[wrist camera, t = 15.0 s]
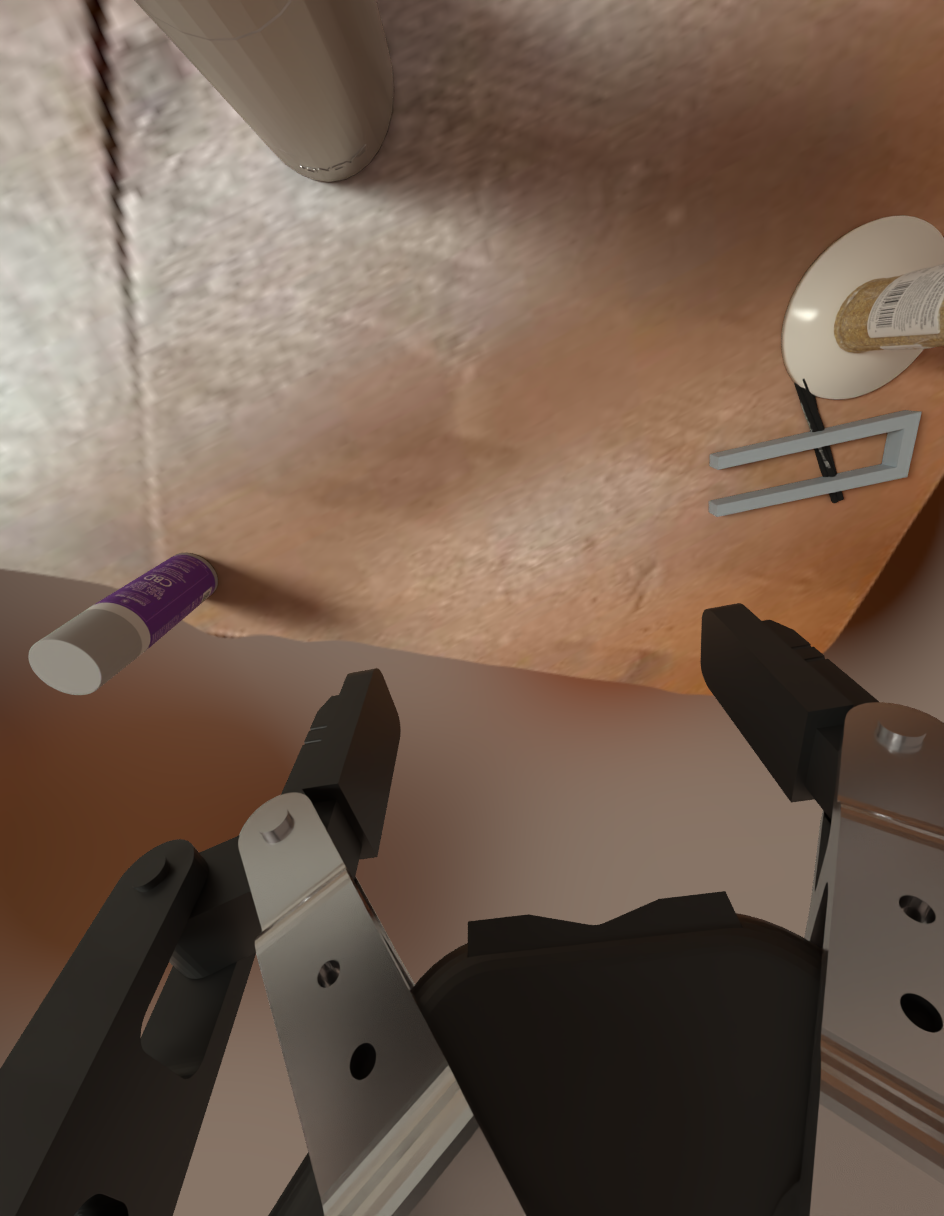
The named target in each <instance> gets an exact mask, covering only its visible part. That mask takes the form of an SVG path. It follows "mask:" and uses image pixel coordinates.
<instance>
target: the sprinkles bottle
mask: <svg viewBox="0 0 944 1216" xmlns="http://www.w3.org/2000/svg"><path fill="white" fill-rule="evenodd" d="M834 336H835V339H836V342H837V344H838V345H839V347H840V348H841V349H843V350H845V351H847V352H852V353H864V352H867V351H873V350H911V349H925V348H933V347H939V346H944V264H942V265H938V266H933V267H929V268H925V269H920V270H916V271H912V272H909V273H906V274H903V275H900V276H895V277H890V278H878V279H873V280H871V281H869V282H866V283H864V284H863V285H861V286H859V287H858V288H856V289H855V290H854V291H853V292H852V293H851V294H850V295H849V296H848V297H847V298H846V300H845V301H844V302H843V304H842V306H841V307H840V310H839V311H838V313H837V316H836V320H835V324H834Z"/></svg>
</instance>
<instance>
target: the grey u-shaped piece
mask: <svg viewBox="0 0 944 1216" xmlns="http://www.w3.org/2000/svg"><path fill="white" fill-rule="evenodd" d="M920 417H921V412H919V411H908V410H904V411H899V412H895V413H890V414H886V415H881V416H877V417H873V418H868V419H864V420H859V421H855V422H850V423H846V424H841V425H837V426H833V427H828V428H824V430H823V431H817V432H811V431H810V432H806V433H801V434H797V435H793V436H788V437H784V438H779V439H775V440H770V441H766V442H761V443H757V444H753V445H748V446H744V447H739V448H735V449H730V450H726V451H721V452H717V453H713V454H710V467H713V468H715V469H718V470H719V469H724V468H728V467H733V466H737V465H742V464H746V463H751V462H755V461H760V460H764V459H769V458H774V457H778V456H783V455H787V454H792V453H796V452H801V451H805V450H810V449H814V448H819V447H823V446H828V445H832V444H837V443H841V442H846V441H850V440H855V439H860V438H864V437H869V436H873V435H878V434H882V433H887V432H888V434H887V439H886V444H885V449H884V455H883V460H882V464H879V465H875V466H870V467H865V468H861V469H856V470H851V471H847V472H842V473H837V475H836V476H835V477H819V478H814V479H809V480H805V481H800V482H795V483H791V484H786V485H781V486H777V487H772V488H767V489H762V490H758V491H753V492H748V493H744V494H739V495H734V496H730V497H725V498H720V499H716V500H711V501H709V512H710V513H711V514H713V515H715V516H716V517H719V516H724V515H728V514H733V513H738V512H743V511H747V510H752V509H757V508H762V507H766V506H771V505H776V504H781V503H785V502H790V501H795V500H800V499H805V498H809V497H814V496H819V495H824V494H828V493H833V492H838V491H843V490H847V489H852V488H857V487H862V486H866V485H871V484H876V483H881V482H885V481H890V480H895V479H900V478H904V477H907V476H908V472H909V467H910V462H911V458H912V453H913V449H914V444H915V440H916V435H917V431H918V426H919V421H920Z"/></svg>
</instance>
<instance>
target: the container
mask: <svg viewBox="0 0 944 1216" xmlns="http://www.w3.org/2000/svg"><path fill="white" fill-rule="evenodd" d="M217 585H218V578H217V574H216V572H215V570H214V568H213V567H212V566H211V565H210V564H209V563H208V562H207V561H206V560H205V559H203V558H202V557H200V556H198V555H195V554H191V553H180V554H177V555H175V556H173V557H171V558H169V559H168V560H166V561H165V562H163V563H161V564H160V565H158V566H156V567H155V568H153V569H151V570H150V571H148V572H147V573H145V574H143V575H142V576H140V577H138V578H137V579H135V580H134V581H132V582H130V583H129V584H127V585H125V586H124V587H122V588H120V589H119V590H117V591H116V592H114V593H112V594H111V595H109V596H107V597H106V598H104V599H102V600H101V601H99V602H98V603H96V604H94V605H93V606H91V607H90V608H88V609H87V610H85V611H84V612H82V613H81V614H79V615H78V616H76V617H75V618H73V619H72V620H70V621H69V622H67V623H66V624H64V625H63V626H61V627H59V628H58V629H56V630H55V631H53V632H52V633H50V634H49V635H47V636H46V637H44V638H43V639H41V640H40V641H39V642H37V643H35V644H34V645H33V646H32V647H31V649H30V651H29V662H30V665H31V667H32V669H33V671H34V672H35V673H36V675H37V676H38V677H39V678H40V679H41V680H42V681H44V682H45V683H46V684H48V685H49V686H51V687H53V688H55V689H57V690H59V691H61V692H64V693H68V694H73V695H85V694H89V693H92V692H94V691H96V690H97V689H98V688H99V687H101V686H102V685H103V684H104V683H106V682H107V681H108V680H109V679H111V678H112V677H113V676H114V675H116V674H117V673H118V672H120V671H121V670H122V669H123V668H125V667H126V666H127V665H128V664H130V663H131V662H132V661H133V660H135V659H136V658H137V657H138V656H139V655H141V654H142V653H143V652H145V651H146V650H147V649H148V648H150V647H151V646H152V645H153V644H154V643H155V642H157V641H158V640H159V639H160V638H161V637H162V636H164V635H165V634H166V633H167V632H168V631H169V630H171V629H172V628H173V627H174V626H175V625H176V624H178V623H179V622H180V621H181V620H182V619H183V618H185V617H186V616H187V615H188V614H189V613H191V612H192V611H193V610H194V609H195V608H196V607H198V606H199V605H200V604H201V603H202V602H203V601H205V600H206V599H207V598H208V597H209V596H210V595H211V594H213V593H214V591H215V590H216V588H217Z"/></svg>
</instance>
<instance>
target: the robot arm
mask: <svg viewBox="0 0 944 1216" xmlns="http://www.w3.org/2000/svg"><path fill="white" fill-rule="evenodd" d="M135 1H136V3H137V4H138V5H139V6H140V7H141V8H142V9H143V10H144V11H145V12H146V14H147V15H148V16H149V17H150V18H151V19H152V20H153V21H154V22H155V23H156V24H157V26H158V27H159V28H160V29H161V30H162V31H163V32H164V33H165V34H166V35H167V36H168V38H169V39H170V40H171V41H172V42H173V43H174V44H175V45H176V46H177V47H178V48H179V50H180V51H181V52H182V53H183V54H184V55H185V56H186V57H187V58H188V59H189V60H190V62H191V63H192V64H193V65H194V66H195V67H196V68H197V69H198V70H199V71H200V73H201V74H202V75H203V76H204V77H205V78H206V79H207V80H208V81H209V82H210V83H211V85H212V86H213V87H214V88H215V89H216V90H217V91H218V92H219V93H220V94H221V95H222V97H223V98H224V99H225V100H226V101H227V102H228V103H229V104H230V105H231V106H232V107H233V109H234V110H235V111H236V112H237V113H238V114H239V115H240V116H241V117H242V118H243V119H244V121H245V122H246V123H247V124H248V125H249V126H250V127H251V129H252V130H253V131H254V132H255V133H256V134H257V135H258V136H259V137H260V138H261V139H262V140H263V142H264V143H265V144H266V145H267V146H268V147H269V148H270V149H271V150H272V151H273V152H274V153H275V154H276V155H277V156H278V157H279V158H280V159H281V160H282V161H283V162H284V163H285V164H286V165H287V166H289V167H290V168H291V169H293V170H294V171H296V172H297V173H299V174H301V175H303V176H306V177H308V178H311V179H313V180H318V181H327V182H332V181H338V180H344V179H346V178H348V177H351V176H353V175H355V174H357V173H358V172H360V171H361V170H362V169H363V168H364V167H365V166H366V165H368V164H369V163H370V162H371V160H372V159H373V157H374V156H375V155H376V153H377V152H378V150H379V149H380V147H381V145H382V142H383V140H384V138H385V136H386V133H387V131H388V127H389V123H390V119H391V114H392V108H393V95H394V83H393V70H392V63H391V58H390V54H389V49H388V45H387V41H386V37H385V33H384V29H383V26H382V22H381V18H380V14H379V10H378V6H377V2H376V0H135ZM701 670H702V674H703V677H704V680H705V682H706V684H707V686H708V688H709V689H710V691H711V692H712V693H713V695H714V696H715V697H716V699H717V700H718V702H719V703H720V704H721V705H722V707H723V709H724V710H725V711H726V713H727V714H728V715H729V717H730V718H731V720H732V721H733V722H734V724H735V725H736V726H737V728H738V729H739V731H740V732H741V734H742V735H743V736H744V738H745V739H746V740H747V742H748V743H749V745H750V746H751V747H752V749H753V750H754V752H755V753H756V754H757V756H758V757H759V758H760V760H761V761H762V763H763V764H764V765H765V767H766V768H767V770H768V771H769V772H770V774H771V775H772V777H773V778H774V779H775V781H776V782H777V783H778V785H779V786H780V787H781V789H782V790H783V792H784V793H785V795H786V796H787V797H788V799H789V800H790V801H791V802H797V801H805V800H812V799H815V800H816V801H817V803H818V804H819V805H820V806H821V808H822V809H823V813H822V817H821V822H820V830H819V838H818V846H817V855H816V862H815V870H814V880H813V887H812V895H811V903H810V909H809V916H808V921H807V926H806V931H805V937H804V938H803V937H801V936H799V935H797V934H795V933H793V932H791V931H789V930H787V929H785V928H783V927H780V926H778V925H775V924H773V923H770V922H767V921H765V920H762V919H758V918H755V917H751V916H747V915H743V914H737V913H735V911H734V909H733V907H732V905H731V902H730V900H729V898H728V896H727V894H726V892H725V891H723V892H715V893H706V894H698V895H689V896H682V897H672V898H664V899H658V900H656V901H654V902H651V903H649V904H647V905H644V906H642V907H640V908H638V909H635V910H633V911H631V912H628V913H626V914H624V915H622V916H619V917H617V918H615V919H613V920H610V921H608V922H605V923H603V924H600V925H587V924H581V923H575V922H569V921H564V920H558V919H552V918H546V917H540V916H533V915H521V916H512V917H504V918H495V919H487V920H478V921H469V922H468V943H467V944H465V945H463V946H460V947H458V948H457V949H455V950H454V951H452V952H451V953H449V954H447V955H446V956H444V957H443V958H442V959H441V960H439V961H438V962H437V963H435V964H434V965H433V966H432V967H431V968H430V969H429V970H428V971H427V972H426V973H425V974H424V975H423V976H422V977H421V978H420V979H419V980H418V982H417V983H416V984H414V982H413V980H412V979H411V977H410V975H409V973H408V971H407V970H406V968H405V966H404V964H403V963H402V961H401V959H400V957H399V955H398V954H397V952H396V950H395V948H394V946H393V945H392V943H391V941H390V939H389V937H388V936H387V934H386V932H385V930H384V928H383V926H382V924H381V922H380V920H379V919H378V917H377V915H376V913H375V911H374V909H373V908H372V906H371V904H370V902H369V900H368V898H367V897H366V895H365V893H364V891H363V889H362V887H361V885H360V884H359V882H358V880H357V878H356V877H355V875H356V870H357V865H358V862H359V859H366V858H374V857H377V855H378V850H379V845H380V839H381V835H382V829H383V824H384V819H385V814H386V808H387V803H388V798H389V793H390V787H391V782H392V777H393V772H394V766H395V761H396V756H397V751H398V745H399V740H400V721H399V716H398V713H397V710H396V708H395V705H394V702H393V700H392V698H391V695H390V692H389V690H388V687H387V685H386V682H385V680H384V677H383V675H382V673H381V671H380V670H379V669H377V668H376V669H371V670H365V671H360V672H354V673H350V674H348V675H347V677H346V679H345V681H344V684H343V687H342V689H341V692H340V694H339V695H336V696H332V697H330V699H329V700H328V701H327V702H326V703H325V704H324V705H323V706H322V707H321V708H320V710H319V711H318V712H317V714H316V716H315V719H314V721H313V723H312V725H311V728H310V729H311V731H309V732H308V735H307V737H306V739H305V745H303V746H302V748H301V750H300V753H299V755H298V757H297V760H296V762H295V764H294V766H293V769H292V771H291V773H290V776H289V778H288V780H287V782H286V785H285V787H284V789H283V791H282V794H281V795H280V796H277V797H275V798H273V799H271V800H269V801H268V802H266V803H265V804H263V805H262V806H261V807H260V808H258V809H257V810H256V811H255V812H254V813H253V814H252V815H251V816H250V818H249V819H248V820H247V822H246V823H245V825H244V826H243V828H242V830H241V833H240V835H239V836H237V837H235V838H232V839H230V840H228V841H226V842H223V843H221V844H219V845H216V846H214V847H212V848H209V849H207V850H205V851H202V852H200V853H199V852H198V851H197V850H196V849H195V847H194V846H193V845H192V844H191V843H190V842H189V841H186V840H180V839H179V840H172V841H169V842H166V843H164V844H161V845H159V846H157V847H155V848H153V849H152V850H150V851H149V852H147V853H146V854H144V855H143V856H142V857H140V858H139V859H138V860H137V861H136V862H135V863H134V864H133V865H132V866H131V867H130V868H129V869H128V870H127V871H126V872H125V873H124V874H123V876H122V877H121V878H120V880H119V881H118V883H117V884H116V886H115V887H114V889H113V891H112V892H111V894H110V895H109V897H108V898H107V900H106V902H105V903H104V905H103V906H102V908H101V910H100V911H99V913H98V914H97V916H96V918H95V919H94V921H93V922H92V924H91V925H90V927H89V929H88V930H87V932H86V934H85V935H84V937H83V938H82V940H81V941H80V943H79V945H78V946H77V948H76V950H75V951H74V953H73V954H72V956H71V957H70V959H69V960H68V962H67V964H66V965H65V967H64V968H63V970H62V972H61V973H60V975H59V976H58V978H57V979H56V981H55V983H54V984H53V986H52V988H51V989H50V991H49V992H48V994H47V995H46V997H45V999H44V1000H43V1002H42V1003H41V1005H40V1007H39V1008H38V1010H37V1011H36V1013H35V1014H34V1016H33V1018H32V1019H31V1021H30V1022H29V1024H28V1026H27V1027H26V1029H25V1030H24V1032H23V1034H22V1035H21V1037H20V1039H19V1040H18V1042H17V1043H16V1045H15V1046H14V1048H13V1049H12V1051H11V1053H10V1054H9V1056H8V1057H7V1059H6V1061H5V1062H4V1064H3V1066H2V1067H1V1068H0V1216H173V1213H174V1210H175V1206H176V1203H177V1200H178V1197H179V1194H180V1191H181V1188H182V1184H183V1181H184V1178H185V1175H186V1172H187V1169H188V1166H189V1162H190V1159H191V1156H192V1153H193V1150H194V1147H195V1143H196V1140H197V1137H198V1134H199V1131H200V1128H201V1124H202V1121H203V1118H204V1115H205V1112H206V1109H207V1106H208V1103H209V1099H210V1096H211V1093H212V1089H213V1087H214V1084H215V1080H216V1077H217V1074H218V1071H219V1068H220V1065H221V1062H222V1058H223V1055H224V1052H225V1049H226V1046H227V1043H228V1040H229V1036H230V1033H231V1030H232V1027H233V1024H234V1020H235V1017H236V1014H237V1011H238V1008H239V1005H240V1002H241V999H242V995H243V992H244V989H245V986H246V983H247V980H248V976H249V973H250V970H251V967H252V964H253V961H254V958H255V954H257V958H258V962H259V966H260V969H261V973H262V977H263V981H264V984H265V988H266V992H267V996H268V1000H269V1003H270V1008H271V1011H272V1015H273V1019H274V1023H275V1026H276V1030H277V1034H278V1038H279V1042H280V1046H281V1049H282V1053H283V1057H284V1061H285V1065H286V1068H287V1072H288V1076H289V1079H290V1084H291V1087H292V1091H293V1095H294V1099H295V1103H296V1106H297V1110H298V1114H299V1118H300V1122H301V1125H302V1129H303V1133H304V1137H305V1141H306V1144H307V1148H308V1154H307V1155H306V1157H305V1158H304V1160H303V1161H302V1163H301V1165H300V1166H299V1168H298V1170H297V1171H296V1172H295V1174H294V1176H293V1177H292V1179H291V1181H290V1182H289V1184H288V1185H287V1187H286V1188H285V1190H284V1192H283V1193H282V1195H281V1196H280V1198H279V1199H278V1201H277V1203H276V1205H275V1206H274V1208H273V1209H272V1211H271V1212H270V1214H269V1215H268V1216H944V723H943V722H942V721H940V720H938V719H937V718H935V717H933V716H931V715H929V714H927V713H925V712H922V711H920V710H917V709H914V708H911V707H908V706H903V705H900V704H894V703H884V702H879V701H878V700H876V699H875V698H874V697H873V696H871V695H870V694H869V693H868V692H867V691H866V690H865V689H863V688H862V687H861V686H860V685H859V684H857V683H856V682H855V681H854V680H853V679H851V678H850V677H849V676H848V675H847V674H845V673H844V672H843V671H842V670H841V669H839V668H838V667H837V666H836V665H835V664H834V663H832V662H831V661H830V660H829V659H825V658H824V655H823V654H822V653H820V652H819V651H818V650H817V649H816V648H815V647H811V646H810V643H809V642H807V641H806V640H805V639H804V638H803V637H801V636H800V635H799V634H798V633H797V632H795V631H794V630H793V629H790V628H788V627H786V626H783V625H781V624H779V623H776V622H774V621H772V620H764V621H761V620H760V619H759V618H758V617H756V616H755V615H754V614H753V613H752V612H751V611H750V610H749V609H748V608H746V607H745V606H744V605H743V604H741V603H737V604H732V605H726V606H721V607H715V608H710V609H706V610H704V612H703V615H702V633H701ZM169 962H170V963H171V964H172V965H173V967H172V970H171V972H170V974H169V976H168V979H167V981H166V983H165V985H164V987H163V990H162V992H161V994H160V996H159V999H158V1001H157V1003H156V1005H155V1007H154V1010H153V1012H152V1014H151V1016H150V1019H149V1021H148V1023H147V1025H146V1027H145V1030H144V1032H143V1034H142V1037H141V1039H140V1036H141V1026H142V1022H143V1019H144V1016H145V1013H146V1011H147V1009H148V1006H149V1004H150V1002H151V1000H152V998H153V996H154V993H155V991H156V989H157V987H158V985H159V982H160V980H161V978H162V976H163V974H164V972H165V969H166V967H167V965H168V963H169Z"/></svg>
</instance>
